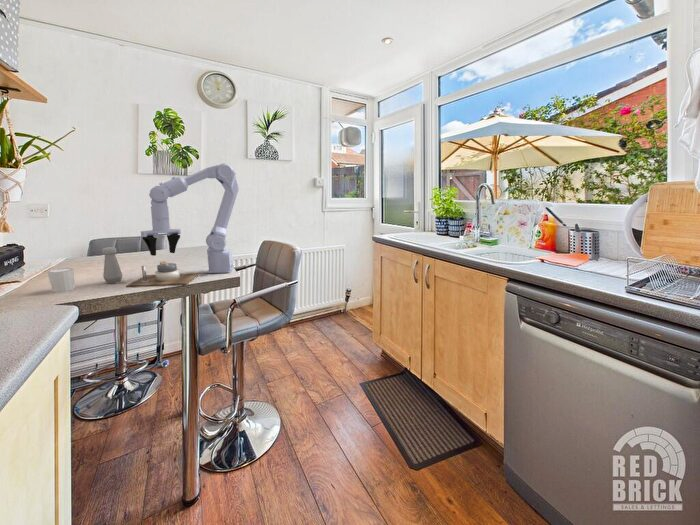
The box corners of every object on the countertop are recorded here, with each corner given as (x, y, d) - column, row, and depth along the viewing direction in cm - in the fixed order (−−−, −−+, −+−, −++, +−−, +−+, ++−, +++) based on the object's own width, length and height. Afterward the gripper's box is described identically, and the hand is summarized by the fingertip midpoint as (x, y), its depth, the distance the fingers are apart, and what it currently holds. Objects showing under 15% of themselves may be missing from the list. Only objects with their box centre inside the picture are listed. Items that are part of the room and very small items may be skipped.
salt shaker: (113, 284, 120) (108, 249, 118) (100, 283, 121) (94, 248, 119) (127, 280, 126) (122, 246, 123) (114, 279, 127) (109, 246, 124)
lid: (178, 270, 125) (177, 264, 124) (159, 272, 121) (158, 266, 121) (171, 265, 134) (171, 259, 134) (153, 267, 130) (153, 261, 130)
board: (199, 274, 135) (199, 273, 135) (186, 284, 120) (186, 283, 120) (146, 276, 132) (146, 274, 132) (126, 287, 117) (126, 285, 117)
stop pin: (151, 282, 123) (149, 265, 122) (148, 284, 120) (145, 266, 119) (143, 282, 123) (140, 265, 121) (139, 284, 120) (137, 267, 119)
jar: (183, 275, 130) (182, 267, 130) (175, 280, 123) (174, 272, 122) (161, 276, 129) (160, 268, 129) (152, 281, 122) (151, 273, 121)
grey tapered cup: (61, 287, 116) (57, 268, 115) (82, 287, 117) (78, 267, 115) (45, 293, 110) (41, 272, 108) (67, 292, 110) (63, 272, 109)
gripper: (171, 217, 135) (174, 250, 137) (134, 218, 122) (137, 255, 125) (183, 218, 131) (185, 252, 134) (146, 219, 119) (149, 257, 121)
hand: (163, 254), depth 129 cm, fingers open, 7 cm apart
